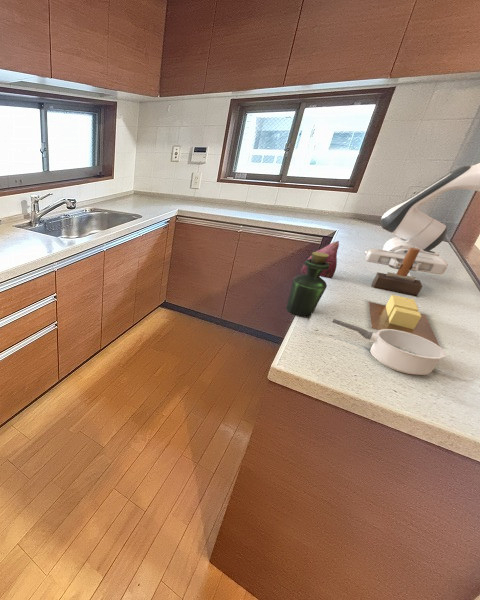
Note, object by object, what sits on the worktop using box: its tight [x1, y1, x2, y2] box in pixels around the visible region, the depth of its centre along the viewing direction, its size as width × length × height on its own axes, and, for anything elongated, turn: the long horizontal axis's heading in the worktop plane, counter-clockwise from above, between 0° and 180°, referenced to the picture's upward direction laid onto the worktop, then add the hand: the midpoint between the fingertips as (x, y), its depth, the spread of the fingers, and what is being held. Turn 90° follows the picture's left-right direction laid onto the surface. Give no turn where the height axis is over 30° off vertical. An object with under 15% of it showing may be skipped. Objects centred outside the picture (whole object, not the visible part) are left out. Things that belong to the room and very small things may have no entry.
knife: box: [386, 248, 420, 282], centre depth 107 cm, size 7×3×15 cm, turn 53°
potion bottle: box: [285, 251, 329, 318], centre depth 92 cm, size 8×8×18 cm
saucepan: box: [331, 318, 446, 376], centre depth 76 cm, size 12×20×6 cm, turn 47°
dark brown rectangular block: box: [371, 272, 423, 297], centre depth 109 cm, size 11×6×5 cm, turn 53°
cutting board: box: [368, 301, 440, 347], centre depth 90 cm, size 13×20×2 cm, turn 143°
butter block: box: [385, 294, 419, 317], centre depth 92 cm, size 5×8×4 cm, turn 143°
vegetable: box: [300, 240, 340, 280], centre depth 121 cm, size 10×10×15 cm
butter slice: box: [389, 307, 422, 329], centre depth 87 cm, size 5×3×4 cm, turn 53°
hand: (406, 267), depth 105 cm, fingers closed on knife, 2 cm apart
